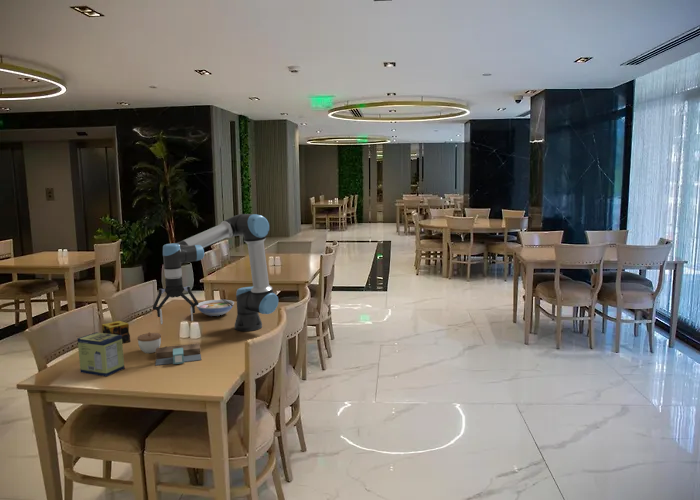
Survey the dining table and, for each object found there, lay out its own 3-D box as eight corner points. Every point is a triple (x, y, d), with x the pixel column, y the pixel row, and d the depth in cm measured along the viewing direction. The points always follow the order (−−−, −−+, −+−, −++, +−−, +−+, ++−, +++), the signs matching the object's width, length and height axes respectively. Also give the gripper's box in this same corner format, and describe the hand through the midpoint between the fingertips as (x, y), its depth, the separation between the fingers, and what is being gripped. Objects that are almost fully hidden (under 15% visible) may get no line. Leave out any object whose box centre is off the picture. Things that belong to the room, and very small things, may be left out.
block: (183, 347, 247) (183, 353, 238) (183, 356, 247) (184, 363, 239) (172, 348, 245) (172, 354, 237) (173, 358, 246) (173, 364, 237)
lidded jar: (166, 348, 261) (165, 330, 260) (151, 355, 251) (150, 336, 250) (148, 347, 264) (147, 328, 263) (133, 353, 254) (132, 334, 253)
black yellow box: (130, 342, 273) (129, 323, 272) (111, 347, 266) (109, 327, 265) (122, 338, 280) (120, 320, 279) (102, 343, 273) (101, 324, 272)
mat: (200, 354, 251) (200, 354, 251) (201, 360, 243) (201, 359, 243) (156, 360, 245) (155, 359, 244) (155, 365, 237) (155, 364, 237)
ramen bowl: (193, 313, 332) (193, 300, 331) (230, 308, 341) (229, 296, 340) (200, 322, 309) (199, 308, 308) (239, 317, 319) (238, 304, 318)
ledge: (199, 349, 259) (199, 343, 259) (200, 354, 252) (200, 348, 251) (156, 354, 253) (156, 348, 253) (156, 359, 245) (155, 353, 245)
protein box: (98, 364, 240) (95, 331, 238) (125, 368, 234) (122, 334, 232) (79, 372, 230) (76, 338, 228) (106, 377, 224) (103, 341, 222)
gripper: (201, 273, 251) (204, 316, 254) (145, 278, 243) (148, 322, 246) (201, 276, 244) (205, 320, 247) (144, 281, 236) (148, 327, 239)
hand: (177, 321), depth 246 cm, fingers open, 13 cm apart
